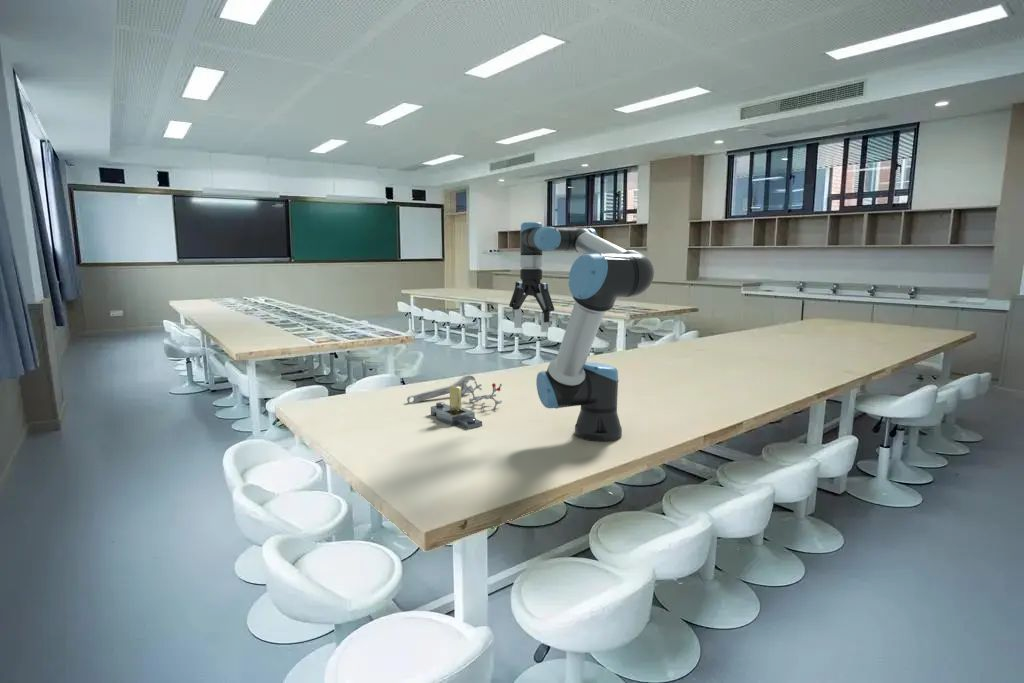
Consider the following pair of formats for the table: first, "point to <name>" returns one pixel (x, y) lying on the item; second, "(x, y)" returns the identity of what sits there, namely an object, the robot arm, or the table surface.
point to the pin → (455, 400)
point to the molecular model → (483, 395)
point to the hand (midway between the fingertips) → (530, 329)
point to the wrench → (441, 390)
